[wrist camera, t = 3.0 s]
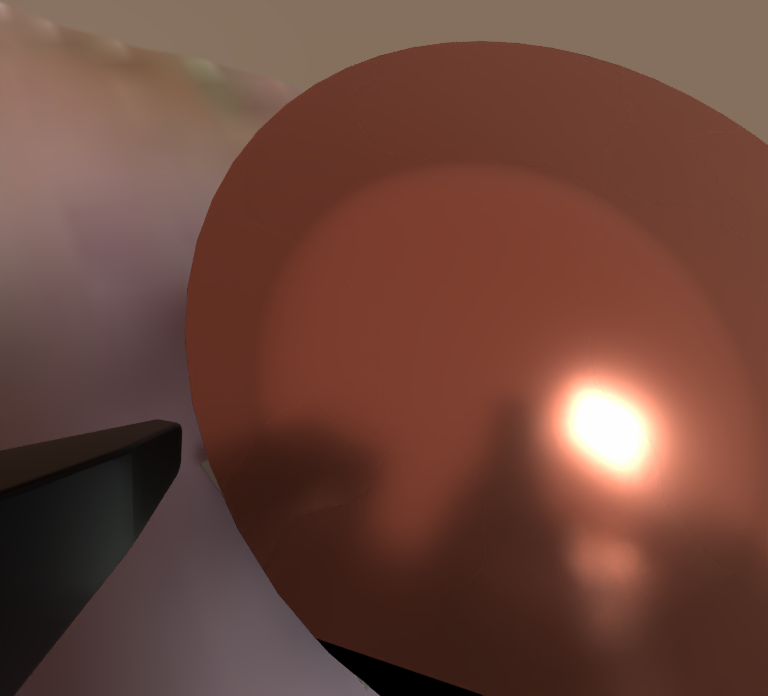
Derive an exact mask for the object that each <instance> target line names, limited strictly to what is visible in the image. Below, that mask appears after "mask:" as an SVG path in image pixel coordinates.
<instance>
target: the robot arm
mask: <svg viewBox="0 0 768 696" xmlns="http://www.w3.org/2000/svg"><path fill="white" fill-rule="evenodd" d="M181 448H182V428H181V426H180V424H178V423H175V422H170V421H165V420H151V421H146V422H141V423H136V424H131V425H126V426H121V427H116V428H111V429H106V430H101V431H96V432H91V433H86V434H81V435H76V436H72V437H67V438H62V439H57V440H52V441H47V442H42V443H37V444H32V445H27V446H22V447H17V448H12V449H7V450H2V451H0V696H14V695H15V694H16V693H17V691H18V690H19V689H20V688H21V686H22V685H23V684H24V682H25V681H26V680H27V679H28V677H29V676H30V675H31V674H32V672H33V671H34V670H35V669H36V667H37V666H38V665H39V663H40V662H41V661H42V660H43V658H44V657H45V656H46V655H47V653H48V652H49V651H50V650H51V648H52V647H53V646H54V645H55V643H56V642H57V641H58V639H59V638H60V637H61V636H62V634H63V633H64V632H65V631H66V629H67V628H68V627H69V626H70V624H71V623H72V622H73V620H74V619H75V618H76V617H77V615H78V614H79V613H80V612H81V610H82V609H83V608H84V607H85V605H86V604H87V603H88V601H89V600H90V599H91V598H92V596H93V595H94V594H95V593H96V591H97V590H98V589H99V588H100V586H101V585H102V584H103V583H104V581H105V580H106V579H107V577H108V576H109V575H110V574H111V572H112V571H113V570H114V569H115V567H116V566H117V565H118V564H119V562H120V561H121V560H122V558H123V557H124V556H125V555H126V553H127V552H128V551H129V549H130V548H131V547H132V545H133V544H134V542H135V541H136V539H137V538H138V536H139V535H140V533H141V532H142V530H143V529H144V527H145V525H146V524H147V522H148V521H149V519H150V517H151V516H152V514H153V513H154V511H155V509H156V508H157V506H158V505H159V503H160V501H161V500H162V498H163V497H164V495H165V493H166V492H167V490H168V489H169V487H170V485H171V484H172V482H173V481H174V479H175V477H176V476H177V473H178V471H179V468H180V464H181Z"/></svg>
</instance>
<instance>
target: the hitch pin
mask: <svg viewBox="0 0 768 696" xmlns="http://www.w3.org/2000/svg"><path fill="white" fill-rule="evenodd" d="M185 344H186V353H187V361H188V370H189V378H190V387H191V395H192V403H193V406H194V410H195V414H196V417H197V421H198V424H199V428H200V432H201V435H202V439H203V443H204V446H205V450H206V454H207V457H208V461H209V464H210V467H211V469H212V471H213V474H214V476H215V478H216V480H217V483H218V485H219V487H220V490H221V492H222V494H223V496H224V499H225V501H226V503H227V505H228V508H229V510H230V512H231V514H232V517H233V519H234V521H235V524H236V526H237V528H238V530H239V532H240V533H241V535H242V536H243V538H244V540H245V541H246V543H247V544H248V546H249V548H250V549H251V551H252V552H253V554H254V556H255V557H256V559H257V560H258V562H259V564H260V565H261V567H262V568H263V570H264V572H265V573H266V575H267V577H268V578H269V580H270V581H271V583H272V585H273V586H274V588H275V589H276V591H277V593H278V594H279V595H280V596H281V598H282V599H283V600H284V601H285V602H286V604H287V605H288V606H289V607H290V608H291V609H292V611H293V612H294V613H295V614H296V615H297V617H298V618H299V619H300V620H301V621H302V622H303V624H304V625H305V626H306V627H307V628H308V630H309V631H310V632H311V633H312V634H313V636H314V637H315V638H316V639H317V640H318V641H319V642H320V643H321V645H322V646H323V647H324V648H325V649H326V650H327V651H328V652H329V653H330V654H331V655H332V656H333V657H334V658H335V659H337V660H338V661H339V662H340V663H341V664H343V665H344V666H345V667H346V668H347V669H349V670H350V671H351V672H352V673H353V674H355V675H356V676H357V677H358V678H360V679H361V680H362V681H363V682H364V683H366V684H367V685H368V686H369V687H370V688H372V689H373V690H374V691H375V692H376V693H378V694H379V695H380V696H768V145H767V144H765V143H764V142H763V141H762V140H760V139H759V138H758V137H756V136H755V135H753V134H752V133H750V132H749V131H747V130H746V129H744V128H743V127H741V126H740V125H738V124H737V123H735V122H734V121H732V120H731V119H729V118H728V117H726V116H725V115H723V114H721V113H719V112H717V111H716V110H714V109H712V108H711V107H709V106H707V105H705V104H704V103H702V102H700V101H698V100H696V99H695V98H693V97H691V96H689V95H687V94H685V93H683V92H681V91H679V90H677V89H674V88H673V87H670V86H668V85H666V84H664V83H662V82H660V81H658V80H656V79H653V78H650V77H648V76H645V75H643V74H640V73H638V72H635V71H632V70H630V69H627V68H624V67H622V66H619V65H616V64H613V63H609V62H606V61H603V60H599V59H596V58H593V57H590V56H586V55H581V54H577V53H573V52H568V51H564V50H559V49H555V48H549V47H542V46H534V45H527V44H520V43H506V42H487V41H476V42H451V43H441V44H434V45H427V46H420V47H413V48H409V49H405V50H401V51H397V52H393V53H388V54H384V55H380V56H378V57H375V58H372V59H369V60H367V61H364V62H361V63H359V64H356V65H354V66H351V67H348V68H346V69H344V70H342V71H340V72H338V73H336V74H334V75H332V76H330V77H328V78H327V79H325V80H323V81H321V82H319V83H317V84H315V85H314V86H312V87H311V88H309V89H308V90H306V91H305V92H304V93H302V94H301V95H299V96H298V97H296V98H295V99H294V100H292V101H291V102H289V103H288V104H286V105H285V106H284V107H283V108H282V109H281V110H280V111H279V112H278V113H277V114H276V115H274V116H273V117H272V118H271V119H270V120H269V121H268V122H267V123H266V124H265V125H264V126H263V127H262V128H261V129H260V130H258V132H257V133H256V134H255V135H254V137H253V138H252V139H251V140H250V142H249V143H248V144H247V145H246V147H245V148H244V149H243V151H242V152H241V153H240V154H239V156H238V157H237V158H236V159H235V161H234V162H233V164H232V165H231V167H230V169H229V171H228V172H227V174H226V176H225V178H224V180H223V181H222V183H221V185H220V187H219V188H218V190H217V192H216V194H215V195H214V197H213V199H212V202H211V205H210V207H209V210H208V213H207V215H206V218H205V221H204V223H203V226H202V229H201V232H200V234H199V237H198V240H197V243H196V248H195V253H194V258H193V264H192V269H191V274H190V279H189V284H188V289H187V313H186V340H185Z"/></svg>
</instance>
